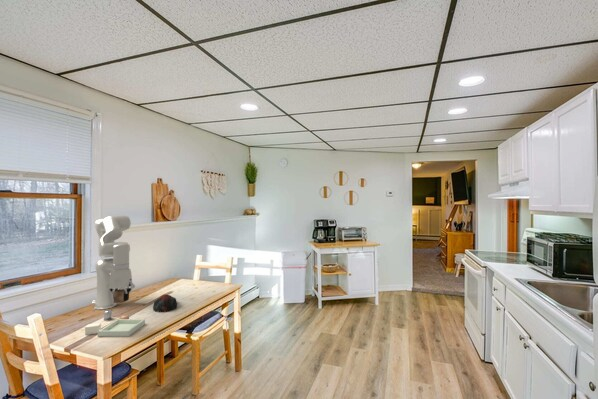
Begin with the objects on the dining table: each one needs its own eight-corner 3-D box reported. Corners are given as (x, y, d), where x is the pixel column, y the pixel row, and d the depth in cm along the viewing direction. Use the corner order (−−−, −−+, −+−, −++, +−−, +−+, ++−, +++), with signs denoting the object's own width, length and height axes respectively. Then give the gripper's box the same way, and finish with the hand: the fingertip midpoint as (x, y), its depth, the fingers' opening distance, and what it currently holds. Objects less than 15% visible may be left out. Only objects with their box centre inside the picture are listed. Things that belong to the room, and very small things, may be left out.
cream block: (85, 335, 155) (85, 327, 155) (87, 331, 158) (87, 324, 158) (98, 333, 157) (98, 325, 157) (100, 330, 160) (100, 322, 160)
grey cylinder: (102, 320, 173) (102, 312, 174) (106, 318, 177) (106, 309, 178) (108, 320, 173) (108, 312, 174) (113, 318, 177) (113, 309, 178)
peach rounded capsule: (118, 322, 170) (118, 317, 170) (123, 319, 175) (123, 314, 175) (126, 322, 170) (126, 317, 170) (130, 319, 175) (130, 314, 175)
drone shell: (167, 313, 185) (167, 300, 185) (141, 311, 190) (141, 298, 190) (188, 302, 205) (188, 291, 205) (164, 300, 210) (164, 289, 210)
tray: (97, 336, 152) (97, 331, 152) (117, 323, 168) (117, 319, 168) (128, 336, 152) (128, 331, 152) (145, 323, 168) (145, 319, 168)
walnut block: (113, 302, 158) (113, 291, 158) (119, 299, 163) (119, 289, 163) (122, 302, 158) (122, 291, 158) (128, 299, 163) (128, 288, 163)
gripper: (101, 268, 158) (100, 302, 157) (132, 268, 157) (132, 302, 157) (110, 265, 165) (110, 298, 165) (140, 265, 165) (140, 298, 164)
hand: (121, 300), depth 161 cm, fingers closed on walnut block, 5 cm apart
